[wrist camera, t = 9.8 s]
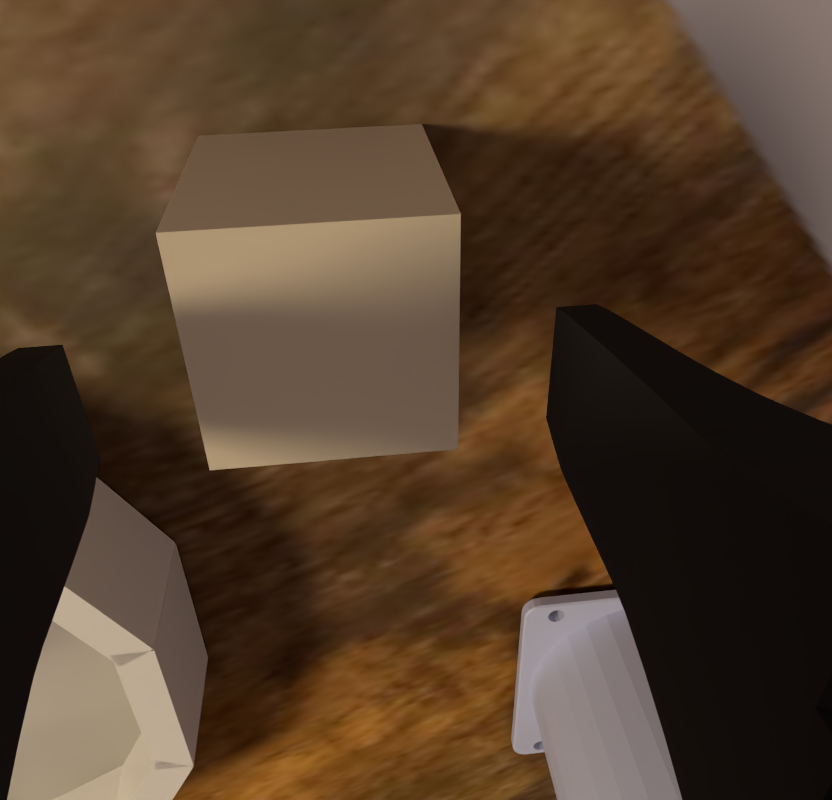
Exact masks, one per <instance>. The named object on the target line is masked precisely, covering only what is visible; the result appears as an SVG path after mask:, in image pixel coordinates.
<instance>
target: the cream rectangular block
mask: <svg viewBox="0 0 832 800" xmlns="http://www.w3.org/2000/svg"><path fill="white" fill-rule="evenodd" d="M156 236H157V241H158V245H159V249H160V254H161V258H162V263H163V267H164V271H165V276H166V280H167V285H168V289H169V293H170V298H171V302H172V307H173V311H174V316H175V320H176V324H177V329H178V333H179V338H180V342H181V346H182V351H183V355H184V360H185V364H186V368H187V373H188V377H189V382H190V386H191V390H192V395H193V399H194V404H195V408H196V412H197V417H198V421H199V426H200V430H201V434H202V439H203V443H204V448H205V452H206V456H207V461H208V465H209V470H220V469H232V468H243V467H255V466H266V465H278V464H290V463H301V462H313V461H325V460H336V459H348V458H359V457H371V456H383V455H394V454H406V453H417V452H429V451H441V450H452V449H458V404H459V323H460V243H461V213H460V211H459V209H458V206H457V204H456V202H455V199H454V197H453V195H452V192H451V190H450V188H449V186H448V183H447V181H446V179H445V176H444V174H443V172H442V169H441V167H440V165H439V163H438V160H437V158H436V156H435V153H434V151H433V149H432V146H431V144H430V142H429V140H428V137H427V135H426V133H425V130H424V128H423V126H422V124H413V125H393V126H374V127H355V128H336V129H317V130H298V131H279V132H260V133H241V134H222V135H203V136H198V138H197V140H196V142H195V145H194V147H193V149H192V151H191V154H190V156H189V158H188V160H187V163H186V165H185V167H184V170H183V172H182V174H181V176H180V179H179V181H178V183H177V186H176V188H175V190H174V192H173V195H172V197H171V199H170V201H169V204H168V206H167V208H166V211H165V213H164V215H163V217H162V220H161V222H160V224H159V226H158V229H157V231H156Z"/></svg>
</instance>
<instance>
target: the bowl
mask: <svg viewBox="0 0 832 800" xmlns="http://www.w3.org/2000/svg"><path fill="white" fill-rule="evenodd" d="M207 662H208V655H207V652H206V648H205V645H204V641H203V638H202V634H201V631H200V627H199V624H198V620H197V616H196V613H195V609H194V606H193V602H192V599H191V595H190V592H189V588H188V585H187V581H186V577H185V574H184V570H183V567H182V563H181V560H180V556H179V553H178V549H177V546H176V544H175V542H174V541H173V540H171V539H170V538H169V537H168V536H167V535H166V534H164V533H163V532H162V531H161V530H160V529H158V528H157V527H156V526H155V525H154V524H152V523H151V522H150V521H149V520H148V519H146V518H145V517H144V516H143V515H142V514H140V513H139V512H138V511H137V510H136V509H134V508H133V507H132V506H131V505H130V504H128V503H127V502H126V501H125V500H124V499H122V498H121V497H120V496H119V495H118V494H116V493H115V492H114V491H113V490H112V489H110V488H109V487H108V486H107V485H106V484H105V483H103V482H102V481H101V480H100V479H99V478H97V477H96V483H95V489H94V494H93V499H92V504H91V509H90V514H89V517H88V520H87V523H86V526H85V529H84V532H83V535H82V538H81V541H80V544H79V547H78V550H77V552H76V555H75V558H74V561H73V564H72V567H71V570H70V572H69V575H68V578H67V581H66V583H65V586H64V589H63V592H62V595H61V597H60V600H59V603H58V606H57V609H56V611H55V614H54V617H53V620H52V623H51V625H50V628H49V631H48V634H47V637H46V639H45V642H44V645H43V648H42V651H41V655H40V658H39V661H38V664H37V668H36V671H35V674H34V678H33V682H32V686H31V691H30V695H29V699H28V704H27V708H26V712H25V717H24V721H23V725H22V730H21V734H20V738H19V743H18V748H17V753H16V758H15V763H14V768H13V773H12V777H11V782H10V787H9V792H8V797H7V800H173V798H174V796H175V795H176V793H177V792H178V790H179V789H180V787H181V786H182V784H183V782H184V781H185V779H186V778H187V776H188V775H189V773H190V772H191V770H192V768H193V767H194V759H195V752H196V744H197V737H198V729H199V722H200V714H201V707H202V699H203V692H204V684H205V677H206V669H207Z"/></svg>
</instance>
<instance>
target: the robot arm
mask: <svg viewBox="0 0 832 800" xmlns="http://www.w3.org/2000/svg"><path fill="white" fill-rule="evenodd" d="M546 418H547V422H548V426H549V429H550V433H551V437H552V440H553V444H554V447H555V451H556V454H557V457H558V460H559V464H560V467H561V470H562V473H563V475H564V477H565V479H566V482H567V484H568V486H569V488H570V491H571V493H572V495H573V497H574V500H575V502H576V504H577V506H578V508H579V511H580V513H581V515H582V517H583V519H584V521H585V524H586V526H587V528H588V530H589V532H590V534H591V537H592V539H593V541H594V543H595V545H596V547H597V550H598V552H599V554H600V556H601V558H602V560H603V562H604V565H605V567H606V569H607V571H608V573H609V575H610V578H611V580H612V582H613V584H614V586H615V589H616V590H607V591H598V592H588V593H578V594H569V595H559V596H550V597H540V598H535V599H532V600H530V601H528V602H527V603H526V604H525V605H524V606H523V609H522V615H521V627H520V639H519V651H518V664H517V676H516V688H515V700H514V712H513V724H512V736H511V741H512V745H513V749H514V751H515V752H517V753H519V754H531V753H540V752H545V755H546V759H547V762H548V766H549V770H550V774H551V777H552V781H553V785H554V789H555V792H556V796H557V800H832V425H831V424H828V423H826V422H823V421H820V420H818V419H816V418H813V417H811V416H808V415H806V414H804V413H801V412H799V411H796V410H794V409H792V408H789V407H787V406H784V405H782V404H779V403H777V402H775V401H773V400H771V399H768V398H766V397H764V396H762V395H760V394H758V393H755V392H753V391H751V390H749V389H747V388H746V387H744V386H742V385H740V384H738V383H736V382H734V381H732V380H730V379H728V378H726V377H724V376H722V375H720V374H718V373H716V372H714V371H712V370H711V369H709V368H707V367H705V366H703V365H702V364H700V363H698V362H696V361H694V360H693V359H691V358H689V357H687V356H686V355H684V354H682V353H680V352H679V351H677V350H675V349H674V348H672V347H670V346H669V345H667V344H665V343H663V342H662V341H660V340H658V339H657V338H655V337H653V336H652V335H650V334H648V333H647V332H645V331H644V330H642V329H640V328H639V327H637V326H635V325H634V324H632V323H630V322H628V321H627V320H625V319H623V318H622V317H620V316H618V315H616V314H615V313H613V312H611V311H609V310H607V309H605V308H603V307H601V306H599V305H597V304H594V305H581V306H567V307H557V308H556V319H555V329H554V340H553V351H552V362H551V373H550V384H549V394H548V405H547V416H546ZM99 459H100V456H99V453H98V450H97V447H96V444H95V441H94V438H93V435H92V432H91V429H90V426H89V423H88V420H87V417H86V414H85V411H84V408H83V405H82V402H81V399H80V396H79V393H78V390H77V387H76V384H75V381H74V378H73V375H72V372H71V369H70V366H69V363H68V360H67V357H66V354H65V351H64V348H63V345H54V346H41V347H28V348H18V349H16V350H14V351H12V352H10V353H8V354H6V355H5V356H3V357H1V358H0V800H7V797H8V792H9V787H10V782H11V777H12V773H13V768H14V763H15V758H16V753H17V748H18V743H19V738H20V734H21V730H22V725H23V721H24V717H25V712H26V708H27V704H28V699H29V695H30V691H31V686H32V682H33V678H34V674H35V671H36V668H37V664H38V661H39V658H40V655H41V651H42V648H43V645H44V642H45V639H46V637H47V634H48V631H49V628H50V625H51V623H52V620H53V617H54V614H55V611H56V609H57V606H58V603H59V600H60V597H61V595H62V592H63V589H64V586H65V583H66V581H67V578H68V575H69V572H70V570H71V567H72V564H73V561H74V558H75V555H76V552H77V550H78V547H79V544H80V541H81V538H82V535H83V532H84V529H85V526H86V523H87V520H88V517H89V514H90V509H91V504H92V499H93V494H94V489H95V483H96V477H97V471H98V465H99Z"/></svg>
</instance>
